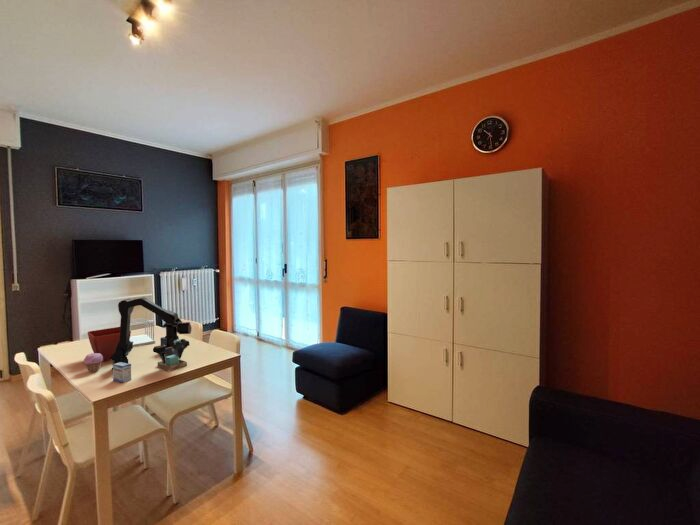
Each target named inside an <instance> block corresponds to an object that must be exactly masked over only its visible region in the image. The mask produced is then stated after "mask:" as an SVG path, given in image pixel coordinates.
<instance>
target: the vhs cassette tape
mask: <svg viewBox="0 0 700 525" xmlns="http://www.w3.org/2000/svg"><path fill="white" fill-rule="evenodd" d="M165 343H166V338H165V336H163V337H160V345H161V346H166V345H165ZM164 352H166V353H165V355H168V356H171V355H177V356H178V349H177V350H175V349H173V348H169V349H165V351H164Z"/></svg>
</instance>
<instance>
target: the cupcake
mask: <svg viewBox="0 0 700 525" xmlns="http://www.w3.org/2000/svg"><path fill="white" fill-rule="evenodd" d="M102 361H103V356H102V355H101V354H100V353H94V352H92V353H88V354H87V355H86V356H85V358H84V359H83V363H84V365H86V368H87V371H88V373H95V372H98V371H99V370H100V369H101V363H102ZM103 362H104V361H103Z"/></svg>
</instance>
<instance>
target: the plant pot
mask: <svg viewBox="0 0 700 525" xmlns="http://www.w3.org/2000/svg"><path fill="white" fill-rule="evenodd" d="M131 333H132V331H131V330H130V333H129V340H130V337H131ZM87 336H88V340H89V344H90V346H91V350H92V351H93V352H92V353H100V354H101V355H102V356H103V361H102V362H107V361H112V360H111V358H110V357H111V356H112V355H113V354H114V353H115V350H116V346H117V344H118V342H119V338H120V326H115V327H111V328H110V327H109V328H103V329H96V330H90V331H87ZM102 362H101V363H102Z"/></svg>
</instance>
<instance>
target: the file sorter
mask: <svg viewBox="0 0 700 525" xmlns="http://www.w3.org/2000/svg"><path fill="white" fill-rule="evenodd" d="M141 325H144V330H145V332H144V333H145V334H140V335H133V336H130V342H133V345H132V346H135V347H139V345H141V346H145V344H146V345H151V343H152V344H155V343H156V340H155V332H154V330H155V329H154V324H153V323H152V322H151V321H149V320H147V319H146V318H144V317H138V318H134V319H133V318H130V327H134V326H141Z"/></svg>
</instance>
